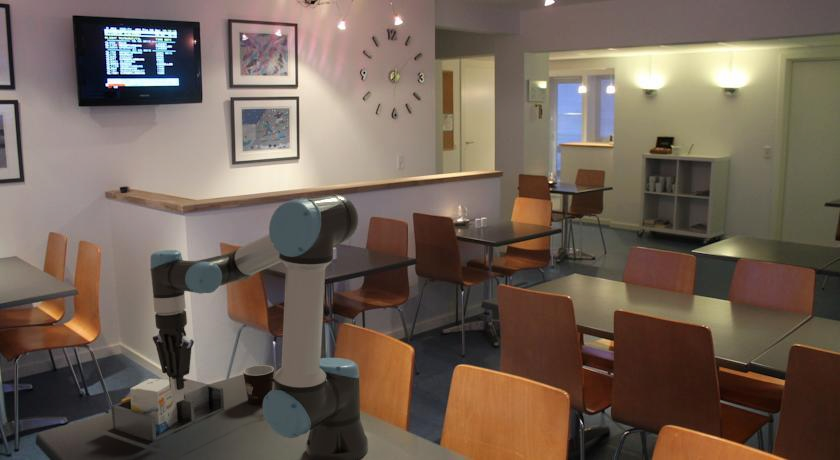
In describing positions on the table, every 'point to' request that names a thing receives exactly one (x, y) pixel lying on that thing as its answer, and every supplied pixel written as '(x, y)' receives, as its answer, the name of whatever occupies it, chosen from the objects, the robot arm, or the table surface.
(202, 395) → the light grey block
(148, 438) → the grey compartment tray
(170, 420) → the ink box
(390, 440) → the table surface
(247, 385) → the coffee mug
